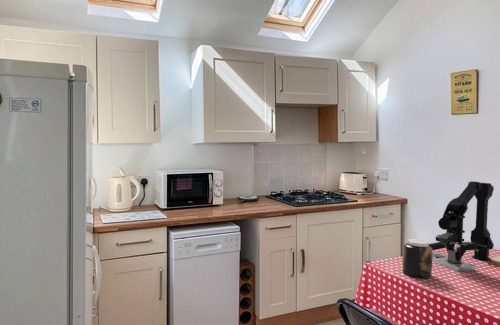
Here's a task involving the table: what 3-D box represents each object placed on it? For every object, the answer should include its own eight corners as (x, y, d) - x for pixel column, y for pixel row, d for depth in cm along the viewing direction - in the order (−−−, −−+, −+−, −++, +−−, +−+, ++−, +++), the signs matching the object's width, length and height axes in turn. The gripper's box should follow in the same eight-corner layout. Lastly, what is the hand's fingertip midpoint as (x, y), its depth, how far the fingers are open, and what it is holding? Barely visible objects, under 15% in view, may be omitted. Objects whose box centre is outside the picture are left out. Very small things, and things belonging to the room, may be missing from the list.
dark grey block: (453, 261, 176) (454, 249, 175) (461, 263, 172) (461, 251, 172) (447, 261, 174) (448, 249, 174) (454, 264, 171) (455, 252, 170)
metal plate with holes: (434, 255, 191) (434, 251, 191) (474, 269, 168) (475, 265, 168) (419, 256, 188) (419, 252, 188) (458, 271, 165) (458, 267, 165)
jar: (402, 276, 157) (404, 242, 156) (402, 268, 168) (403, 236, 167) (432, 280, 153) (434, 246, 152) (430, 272, 163) (431, 239, 163)
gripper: (427, 224, 179) (426, 255, 180) (459, 233, 161) (458, 267, 162) (445, 223, 182) (443, 253, 183) (478, 231, 165) (476, 265, 165)
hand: (454, 259), depth 173 cm, fingers closed on dark grey block, 4 cm apart
